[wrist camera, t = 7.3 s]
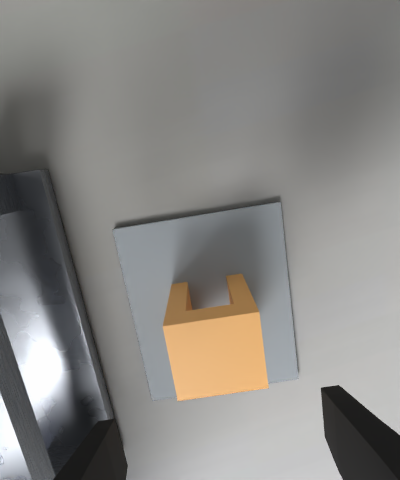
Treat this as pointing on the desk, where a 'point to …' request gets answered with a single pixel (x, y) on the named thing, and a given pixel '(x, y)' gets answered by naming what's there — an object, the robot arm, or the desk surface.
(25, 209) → the rail stand
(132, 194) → the desk surface
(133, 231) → the mat
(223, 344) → the clip
